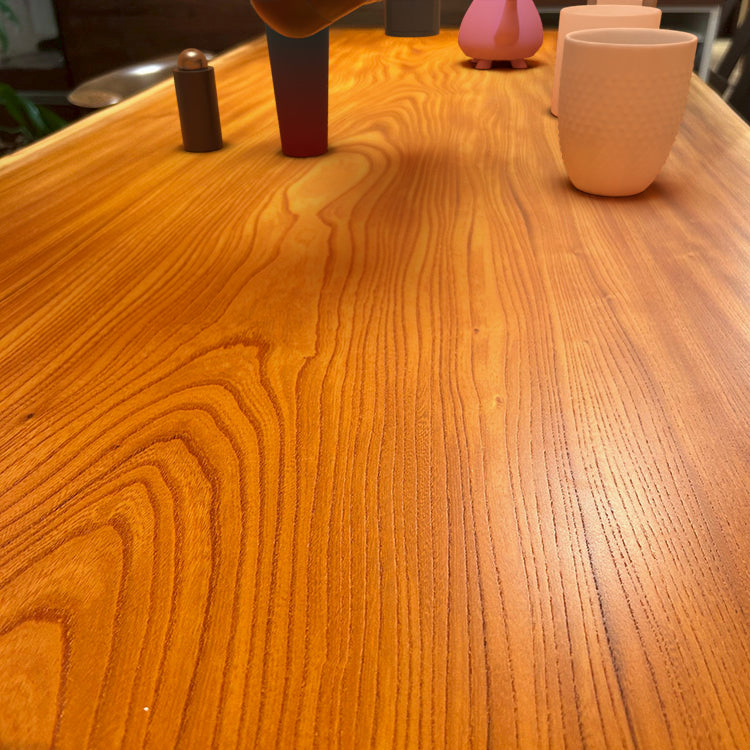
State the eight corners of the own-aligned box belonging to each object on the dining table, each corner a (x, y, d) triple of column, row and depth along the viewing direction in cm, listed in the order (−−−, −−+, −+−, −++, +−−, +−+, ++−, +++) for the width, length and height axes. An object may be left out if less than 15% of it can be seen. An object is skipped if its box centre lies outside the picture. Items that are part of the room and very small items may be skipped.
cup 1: (297, 163, 81) (286, 5, 74) (262, 150, 86) (248, 1, 78) (348, 151, 85) (343, 0, 77) (312, 139, 90) (304, -4, 82)
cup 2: (532, 109, 101) (540, 8, 95) (601, 100, 105) (613, 2, 99) (592, 128, 92) (606, 17, 86) (665, 116, 96) (683, 10, 90)
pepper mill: (177, 151, 86) (162, 51, 81) (193, 141, 90) (180, 45, 85) (214, 152, 85) (201, 52, 80) (228, 142, 89) (217, 45, 84)
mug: (540, 158, 81) (553, 22, 74) (648, 159, 80) (671, 21, 73) (555, 204, 68) (572, 45, 62) (684, 206, 67) (715, 44, 61)
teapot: (553, 74, 122) (561, -14, 116) (463, 76, 122) (466, -12, 116) (531, 54, 139) (537, -23, 133) (452, 56, 139) (455, -22, 133)
